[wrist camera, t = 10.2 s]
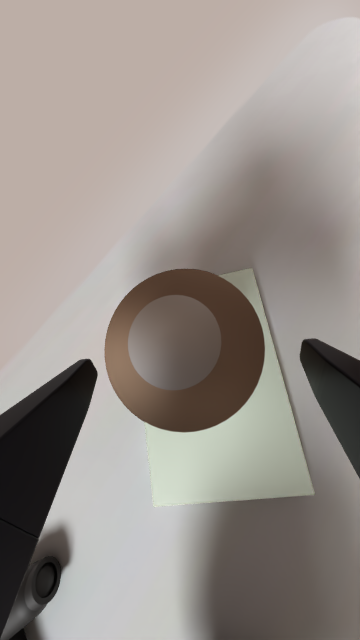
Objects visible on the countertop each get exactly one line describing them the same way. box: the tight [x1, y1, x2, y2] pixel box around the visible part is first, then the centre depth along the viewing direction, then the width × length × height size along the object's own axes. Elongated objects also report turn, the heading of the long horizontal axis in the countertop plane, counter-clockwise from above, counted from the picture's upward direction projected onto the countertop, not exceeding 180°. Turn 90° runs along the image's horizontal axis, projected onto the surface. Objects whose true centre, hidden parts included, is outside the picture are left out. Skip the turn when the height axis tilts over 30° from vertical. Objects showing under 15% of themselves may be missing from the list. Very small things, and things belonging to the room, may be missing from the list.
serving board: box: [144, 268, 315, 507], centre depth 18 cm, size 18×12×1 cm, turn 9°
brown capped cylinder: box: [105, 269, 265, 433], centre depth 11 cm, size 5×5×12 cm
